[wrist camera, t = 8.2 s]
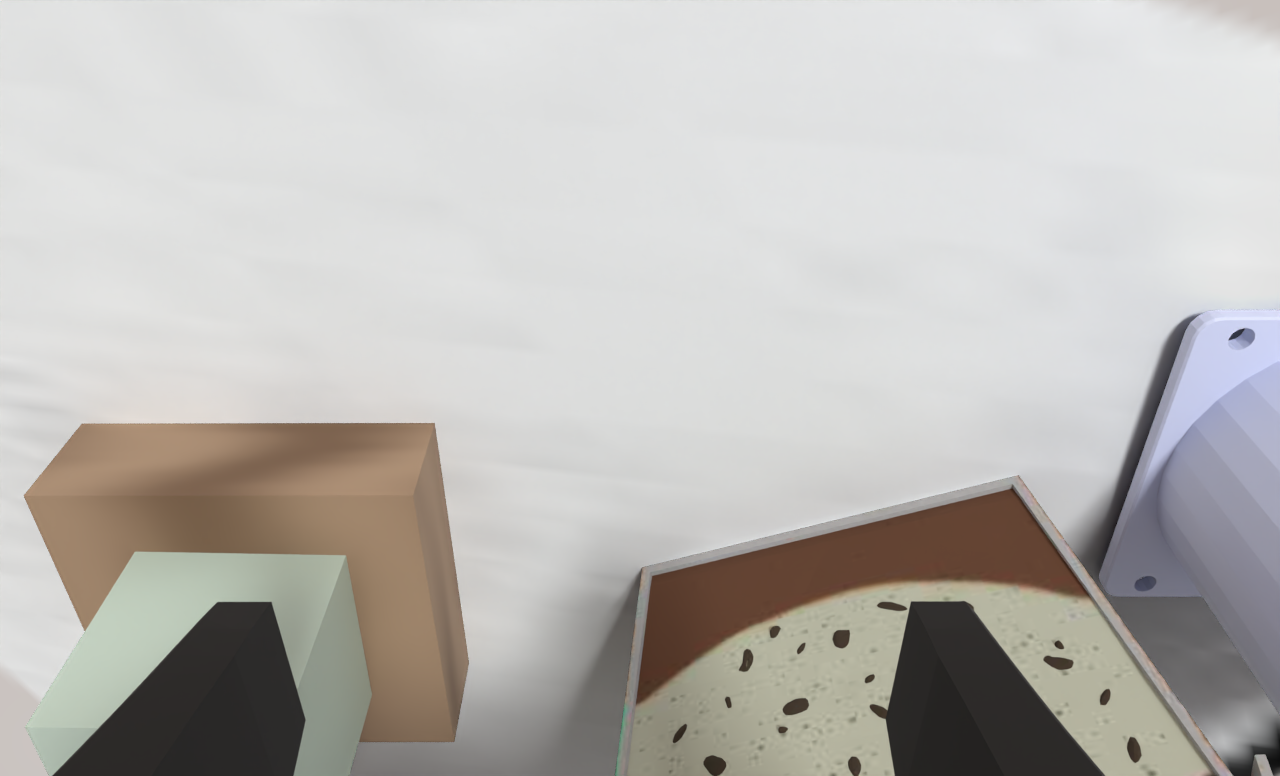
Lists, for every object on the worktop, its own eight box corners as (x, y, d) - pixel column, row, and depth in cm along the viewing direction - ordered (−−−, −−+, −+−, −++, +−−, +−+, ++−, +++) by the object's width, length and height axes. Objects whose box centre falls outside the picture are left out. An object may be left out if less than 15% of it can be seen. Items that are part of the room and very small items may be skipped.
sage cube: (346, 555, 21) (282, 731, 17) (372, 694, 24) (321, 875, 20) (135, 551, 21) (24, 727, 17) (183, 691, 23) (96, 872, 20)
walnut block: (438, 411, 23) (413, 495, 20) (471, 649, 27) (454, 742, 25) (91, 412, 23) (23, 495, 20) (181, 649, 27) (134, 741, 25)
